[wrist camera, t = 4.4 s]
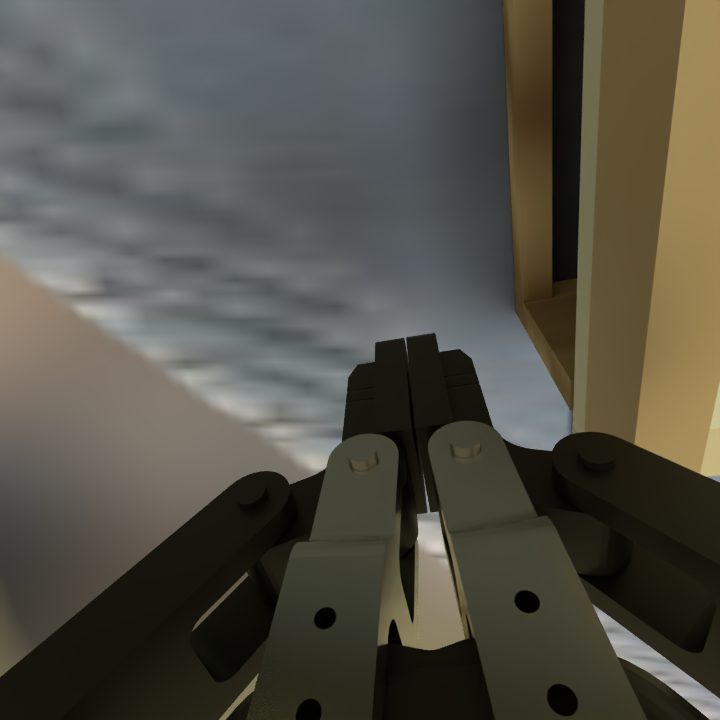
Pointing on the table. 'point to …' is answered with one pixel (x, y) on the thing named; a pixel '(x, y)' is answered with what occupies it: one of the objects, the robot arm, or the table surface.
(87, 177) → the table surface
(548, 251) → the open wooden frame
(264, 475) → the robot arm
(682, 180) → the lid
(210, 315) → the table surface
